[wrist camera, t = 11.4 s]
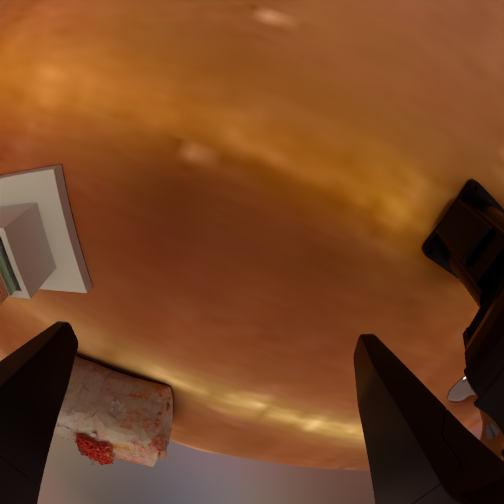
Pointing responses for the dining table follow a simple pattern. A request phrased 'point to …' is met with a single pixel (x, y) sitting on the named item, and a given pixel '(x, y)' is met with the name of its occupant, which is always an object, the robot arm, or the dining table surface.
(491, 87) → the dining table surface
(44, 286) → the stand base
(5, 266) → the column
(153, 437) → the food item
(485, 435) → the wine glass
